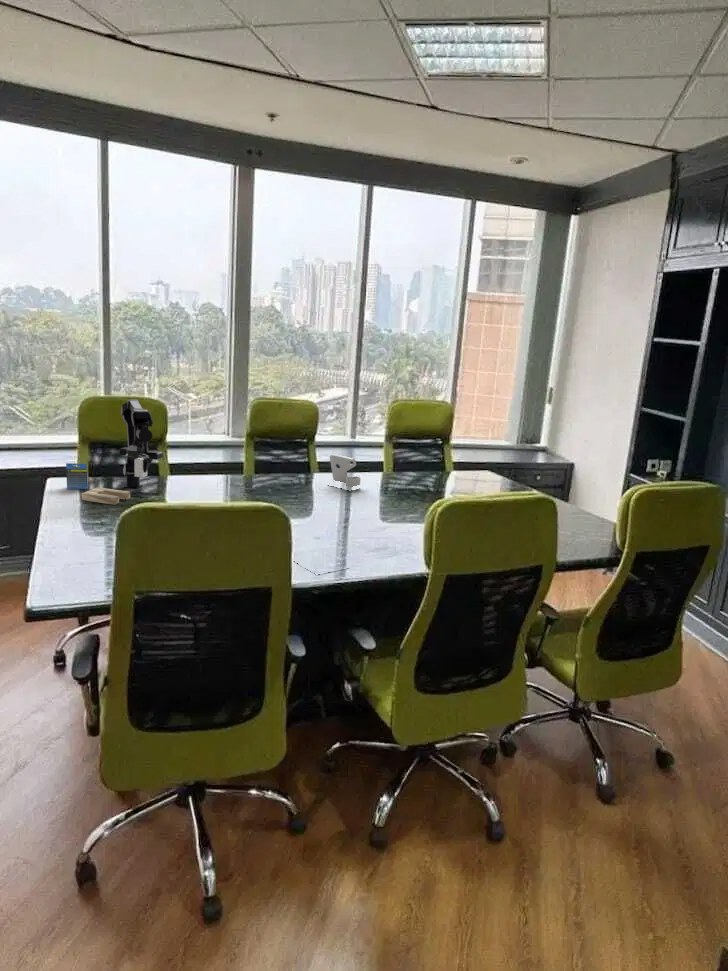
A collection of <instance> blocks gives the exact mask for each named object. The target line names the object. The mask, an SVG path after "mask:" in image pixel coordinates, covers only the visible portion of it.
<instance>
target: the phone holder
mask: <svg viewBox="0 0 728 971" xmlns="http://www.w3.org/2000/svg"><path fill="white" fill-rule="evenodd" d="M329 461H330V467H331V474H332V480H335V481H340V482H344V483H346V486H348V487H353V486H357V485H360V486H361V477H360V476H351V477H348V476H349V475H348V471H349V470H351V469H353V468H354V467H356V466H357V461H356V459H355V458H353V457H349V456H344V455H340V454H336V453H332V454H331V455H330V456H329ZM351 462H352V463H351ZM337 465H338V466H339V467H337Z"/></svg>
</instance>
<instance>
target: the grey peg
mask: <svg viewBox="0 0 728 971" xmlns="http://www.w3.org/2000/svg"><path fill="white" fill-rule="evenodd" d="M144 458H145V457H141V458H137V459H135V477H140V478H143V479H144V478H145V477H148V471H147V472H144V460H143V459H144Z"/></svg>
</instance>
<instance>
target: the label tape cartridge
mask: <svg viewBox="0 0 728 971" xmlns="http://www.w3.org/2000/svg"><path fill="white" fill-rule="evenodd" d="M65 464H66V466H65V471H66V474H65V476H66V490H88V488H89V470H88V467H87V466H88V465H87V463H75V462H74V463H65Z"/></svg>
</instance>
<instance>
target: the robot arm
mask: <svg viewBox="0 0 728 971" xmlns="http://www.w3.org/2000/svg"><path fill="white" fill-rule="evenodd" d="M126 400H127V401H126V402H125V403H123V404H121V406H120V407H121V408H120V416H122V418H121V419H122V421H123V422H124V424H125V426H126V435H127V436H126V437H127V446H124V447H121V448H120V449H119V450H118V455H119V456H126V455H127V456H126V459H124V460H125V462H124V464H123V469H122V471H123V472H122V473H123V475H124V476H126V485H124V486H123V487H124V488H126V487H127V489H136V490H137V489H138V488H139V489H140V488H142V487H144V486H143V484H141V477H135V459H137V458H142V457H141V456H144V457H143V458H144V459H143V460H144V472H147V473H148V470H149V467H150V465H151V463H152V462H153V460H160V459H162V458H164V453H163V451H159V450H153V451H150V448H149V446H148V444H149V442H150V441H151V440H152V439H153V432H152V431H151V430H150V429H149V428H150V427H152V426H153V423H154V422H153V417H152V415H151V413H150V412H149V410H148V409H146V408H143V407H142V406H141V404H140V401H139V400H138V399H126Z"/></svg>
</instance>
